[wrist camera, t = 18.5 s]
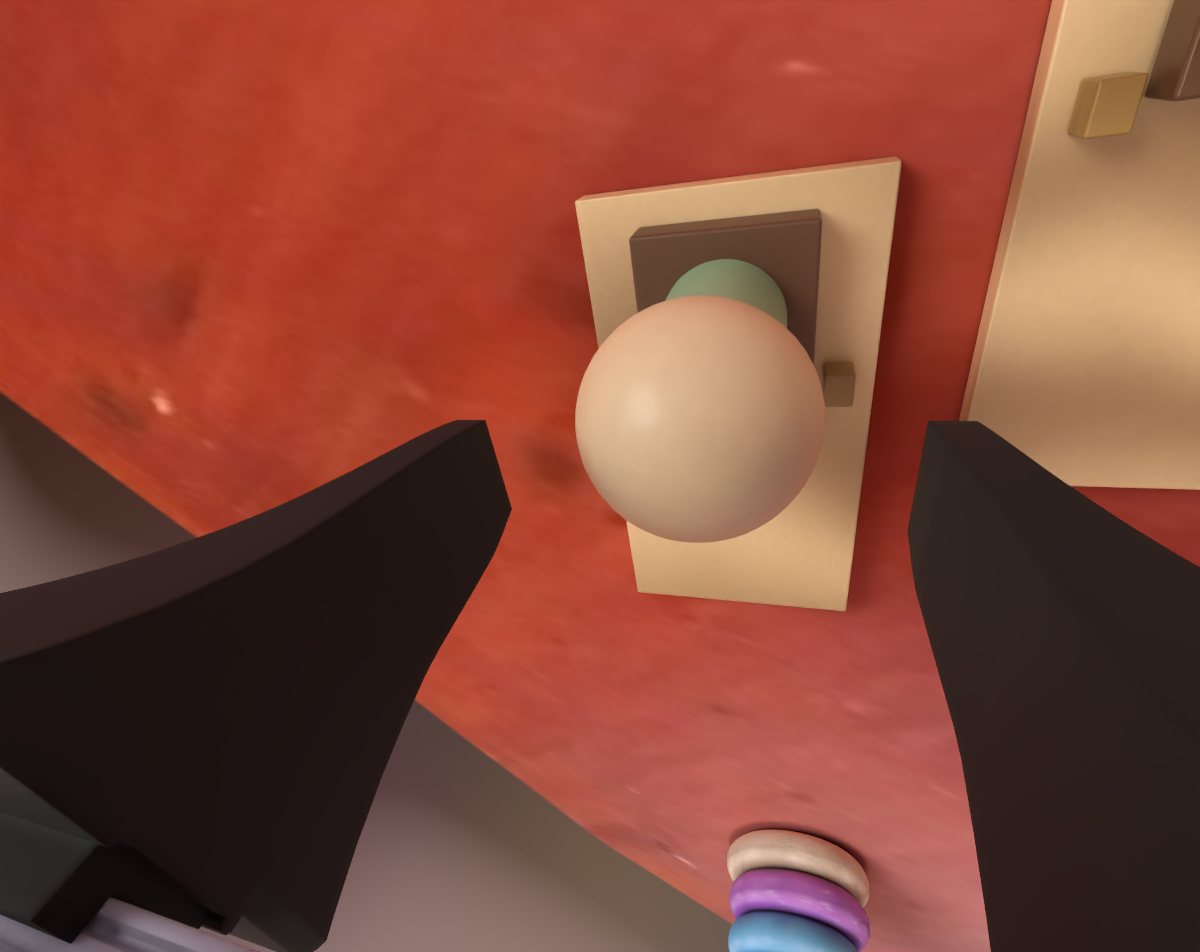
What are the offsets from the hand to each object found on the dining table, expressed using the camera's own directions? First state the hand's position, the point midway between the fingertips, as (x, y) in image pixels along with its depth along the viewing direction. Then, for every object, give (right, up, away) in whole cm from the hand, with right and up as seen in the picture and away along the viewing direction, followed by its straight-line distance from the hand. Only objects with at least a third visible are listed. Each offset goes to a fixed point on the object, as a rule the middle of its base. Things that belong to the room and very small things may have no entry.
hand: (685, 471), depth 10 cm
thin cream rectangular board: (+3, +2, +9) cm, 10 cm away
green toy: (+1, 0, +4) cm, 4 cm away
